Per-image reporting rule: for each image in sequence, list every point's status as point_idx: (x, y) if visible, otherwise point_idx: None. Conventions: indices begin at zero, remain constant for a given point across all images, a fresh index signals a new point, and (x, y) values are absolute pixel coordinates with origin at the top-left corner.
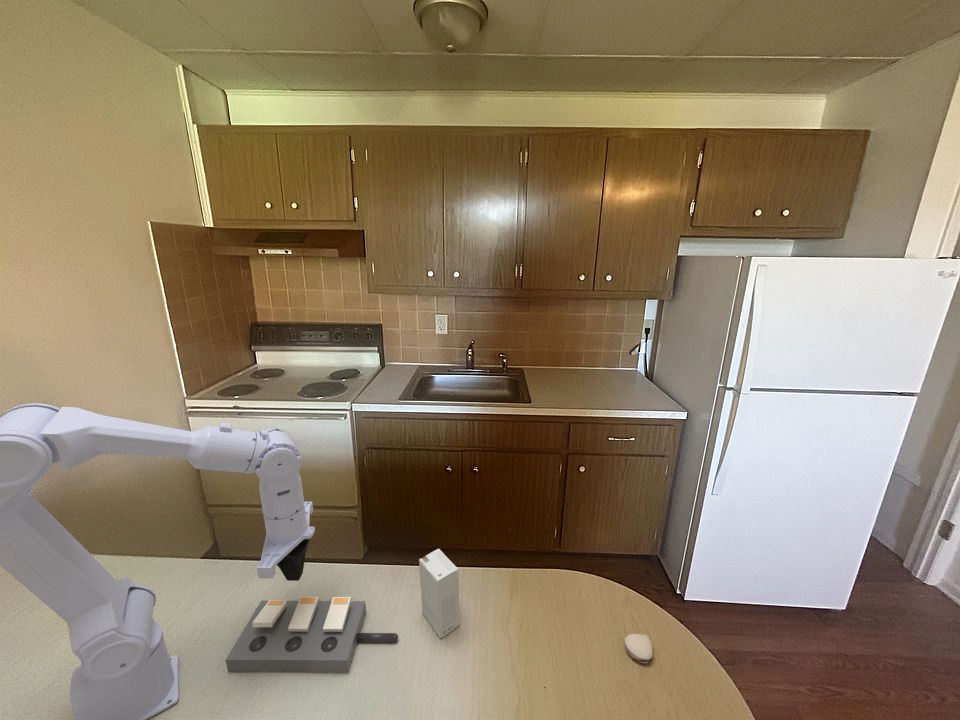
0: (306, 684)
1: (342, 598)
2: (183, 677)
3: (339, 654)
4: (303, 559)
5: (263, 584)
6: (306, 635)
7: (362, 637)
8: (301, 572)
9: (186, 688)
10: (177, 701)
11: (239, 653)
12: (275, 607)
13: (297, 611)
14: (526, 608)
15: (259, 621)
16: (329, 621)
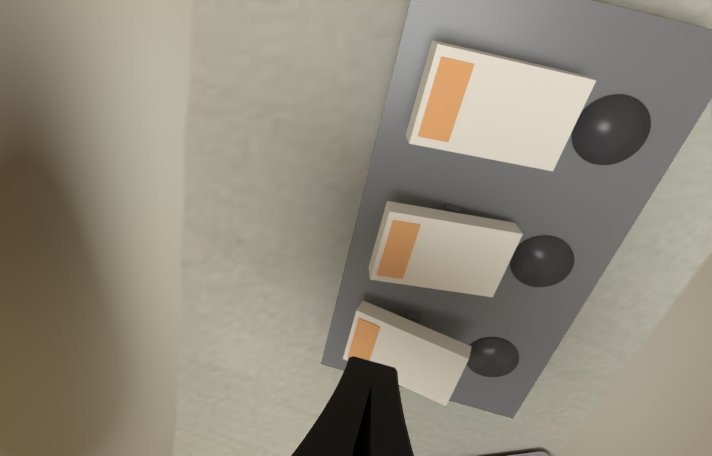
0: (659, 187)
1: (433, 93)
2: (480, 448)
3: (689, 79)
4: (340, 448)
5: (231, 340)
6: (519, 222)
7: None
8: (373, 385)
9: (512, 440)
10: (546, 453)
11: (505, 392)
12: (387, 344)
13: (434, 279)
14: None
15: (449, 390)
16: (531, 146)
